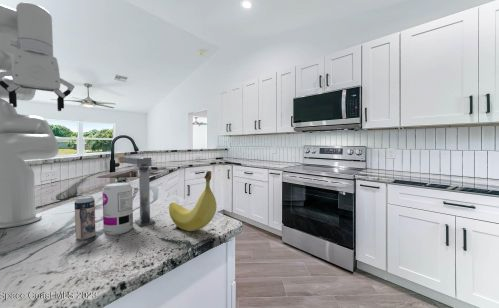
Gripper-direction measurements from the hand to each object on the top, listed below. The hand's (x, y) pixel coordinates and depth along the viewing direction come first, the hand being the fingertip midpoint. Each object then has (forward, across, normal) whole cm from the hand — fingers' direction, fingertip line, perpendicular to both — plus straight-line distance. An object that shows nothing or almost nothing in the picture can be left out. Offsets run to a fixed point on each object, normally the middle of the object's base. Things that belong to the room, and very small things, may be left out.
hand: (38, 108), depth 66 cm
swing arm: (+18, +26, 0) cm, 31 cm away
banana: (+38, +34, -28) cm, 58 cm away
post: (+38, +26, -11) cm, 48 cm away
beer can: (+38, +9, -11) cm, 41 cm away
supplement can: (+38, +18, -12) cm, 44 cm away
